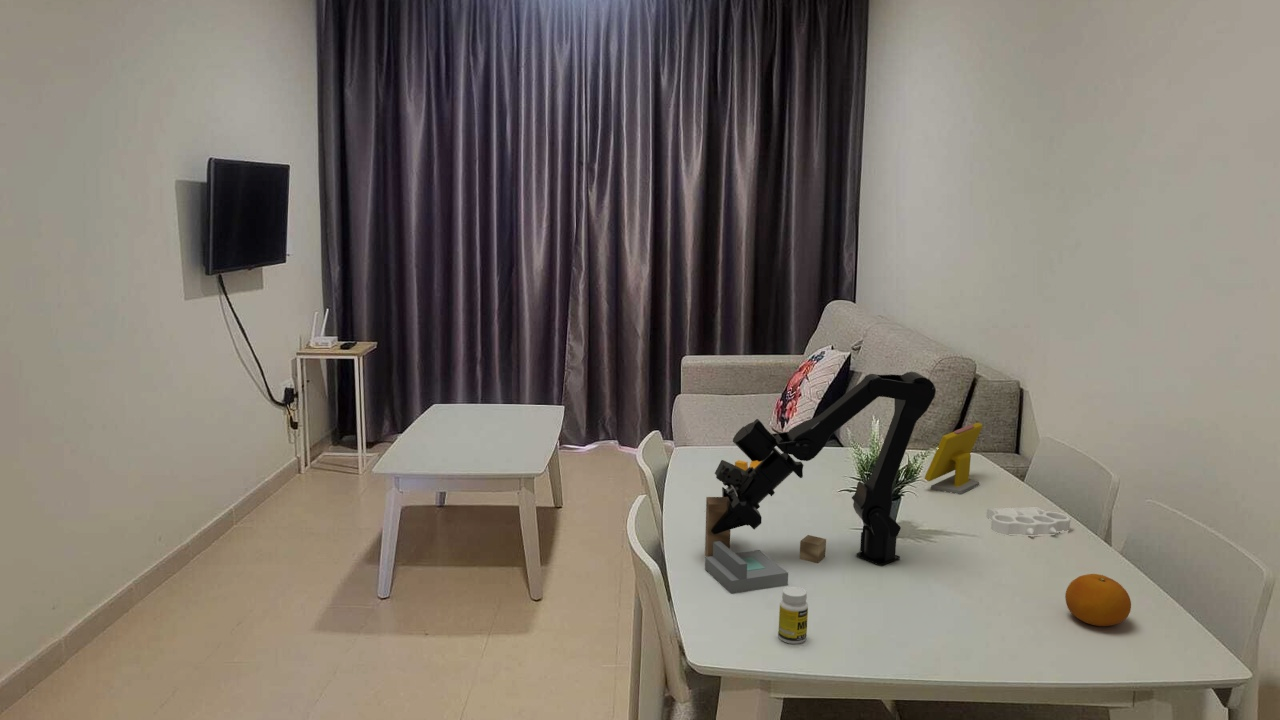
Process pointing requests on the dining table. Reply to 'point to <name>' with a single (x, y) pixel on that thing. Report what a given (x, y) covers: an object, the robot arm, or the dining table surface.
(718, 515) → the walnut pillar
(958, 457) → the yellow framed monitor
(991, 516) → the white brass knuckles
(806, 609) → the supplement bottle
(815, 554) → the oak block
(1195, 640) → the dining table surface
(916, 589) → the dining table surface
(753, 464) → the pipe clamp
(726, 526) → the robot arm
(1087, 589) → the fruit
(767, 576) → the base slab
